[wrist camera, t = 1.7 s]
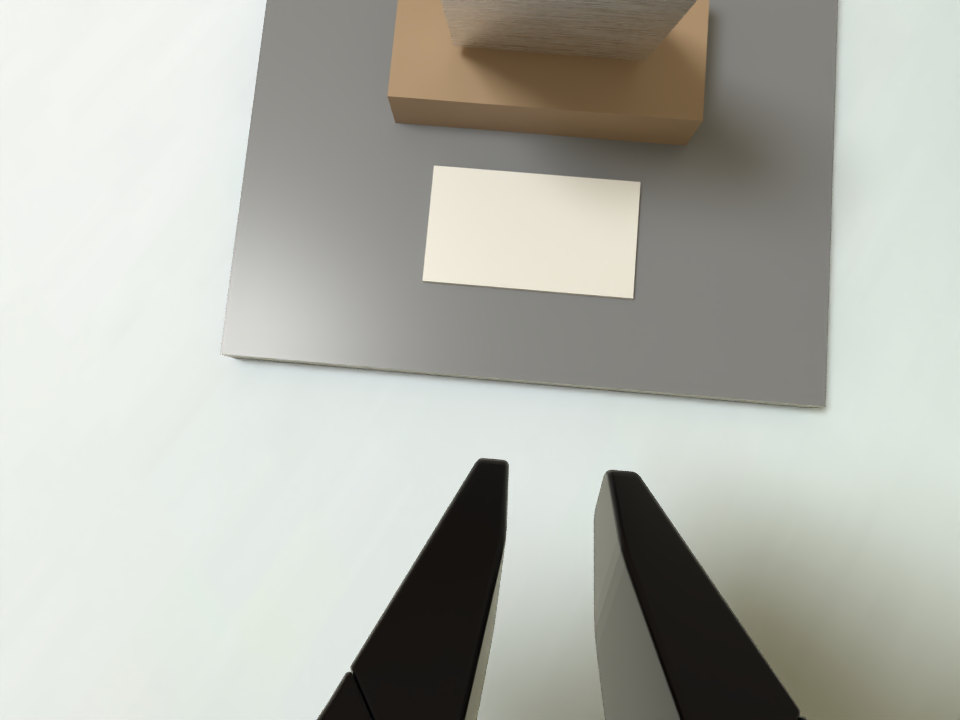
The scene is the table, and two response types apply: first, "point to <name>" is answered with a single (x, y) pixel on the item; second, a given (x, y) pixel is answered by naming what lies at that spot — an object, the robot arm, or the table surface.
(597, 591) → the robot arm
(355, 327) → the board
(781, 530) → the table surface
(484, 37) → the bench scraper
